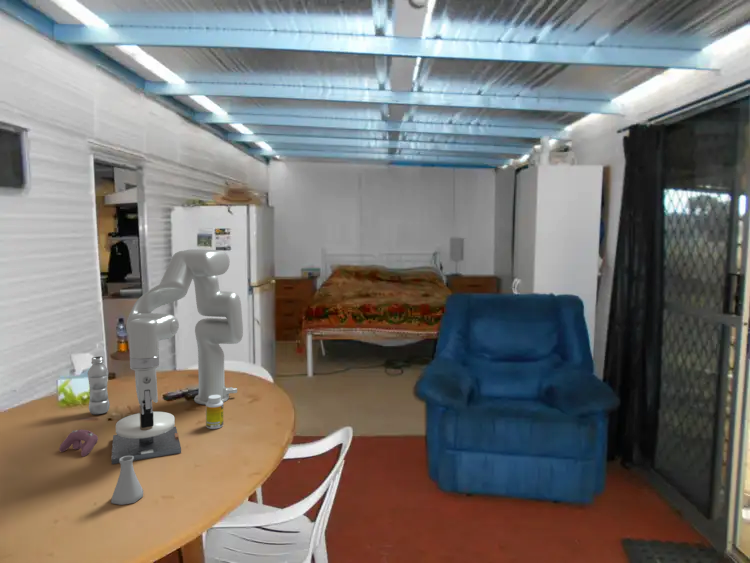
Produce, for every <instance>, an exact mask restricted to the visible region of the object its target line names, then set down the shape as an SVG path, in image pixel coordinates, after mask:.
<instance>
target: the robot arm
mask: <svg viewBox="0 0 750 563" xmlns="http://www.w3.org/2000/svg"><path fill="white" fill-rule="evenodd" d="M229 268H230V256H229V255H228V253H227V252H226V251H225V250H222V249H186V250H184V249H183V250H180V251H177V252H175V253H174V254H173V256H172V257H171V259H170V261H169V264H167V268H166V269H165V272H164V274H163V277H162V279H161V280H160V282H159V283H158V285H155V286H154V287H152V288H150V289H149V290H148V291H146V292H145V293H144V294H142V295H141V296H140V297H139V298H138V299H137V300H136V301H135V302H134V304H133V306H132V308H131V310H130V312H129V314H128V316H127V320H126V325H125V326H126V328H125V329H126V332H127V335H128V341H129V343H128V345H129V368H130V369H131V370H132V371H134V376H135V378H134V379H135V381H134V382H135V390H136V395H137V396H136V397H137V400H138V404H139V406H140V405H141V407H142V414H141V427H142V428H145V427H151V426H153V425H154V421H153V412H154V410H153V403H156V404H157V403H158V402H159V397H158V382H157V380H158V379H157V370H156V369H157V368H159V367H160V352H159V351H160V349H159V347H160V345H159V341H163V340H169V339H171V338H173V337H174V336H175V335H176V334H177V333H178V330H179V326H180V325H179V320H178V318H177V317H176V316H175V315H173V314H169V313H155V312H153V311H155V310H156V309H157V308H159V307H162V306H165V305H168V304H171V303H174V302H177V301H179V300H182V299H183V298H185V297H186V295H187V293H188V291H189V290H190V289H189V288H190V286H191V284H192V281H193V284H194V285H193V286H194V290H195V291H194V292H195V301H196V308H197V312H198V314H199V315H201V316H203V317H207V318H202V319H199V320H198V321H197V322H196V324H195V326H194V333H195V339H196V344H197V346H196V347H197V356H198V357H197V358H198V359H197V364H198V365H197V366H198V372H197V373H198V394H197V395H195V396H194V399H193V400H194V402H195V403H196V404H199V405H206V403H207V402H208V397H209V396H211V395H220V396H221V401H222V402H223V403H224V402H227V401H228V400H229V398H230V394H237V393H238V388H237V387H233V386H230V387H226V385H225V352H224V350H223V348H222V346H221V345H222V344H223V345H236V344H238V343H240V342H241V341H242V339H243V335H244V324H243V311H242V303H241V302H242V301H241V298H240V296H239V294H238V293H236V292H233V291H225V290H224V291H222V290H220V285H219V284H220V283H219V277H218V276H221V275H224V274H226V273H227V272H228V269H229ZM152 312H153V313H152ZM213 317H215V318H213ZM144 406H145V407H144Z"/></svg>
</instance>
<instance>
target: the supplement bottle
mask: <svg viewBox="0 0 750 563" xmlns="http://www.w3.org/2000/svg"><path fill="white" fill-rule="evenodd" d="M223 426H224V402H222V401H221V396H220V395H211V396H209V397H208V402H207V403H206V404H205V427H206V428H207V429H210V430H216V429H220V428H223Z"/></svg>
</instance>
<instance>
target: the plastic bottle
mask: <svg viewBox="0 0 750 563" xmlns="http://www.w3.org/2000/svg"><path fill="white" fill-rule="evenodd" d="M104 363H105V358H104V356H93V357H92V358H91V364H92V365H91V366H90V367H89V369H88V371H87V379H88V384H89V403H88V410H89V413H90V414H91V415H102V414H106V413H107V412H109V410H110V406H111V402H110V400H109V395H108V380H109V378H108V377H109V370H108V368H107V366H106V365H105V364H104Z"/></svg>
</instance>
